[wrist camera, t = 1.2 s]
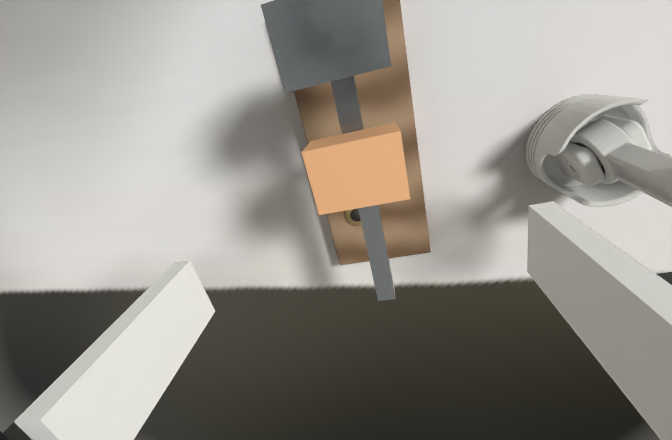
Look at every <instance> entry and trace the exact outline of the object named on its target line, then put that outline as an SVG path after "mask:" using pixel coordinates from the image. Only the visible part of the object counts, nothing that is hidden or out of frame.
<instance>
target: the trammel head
mask: <svg viewBox="0 0 672 440" xmlns="http://www.w3.org/2000/svg"><path fill="white" fill-rule="evenodd" d="M302 156H303V159H304V163H305V167H306V170H307V174H308V177H309V181H310V185H311V188H312V192H313V196H314V199H315V203H316V206H317V210H318V214H319V215H323V214H328V213H334V212H340V211H346V210H351V209H357V208H363V207H368V206H374V205H380V204H385V203H391V202H397V201H403V200H408V199H410V193H409V186H408V179H407V172H406V165H405V158H404V151H403V144H402V137H401V131H400V129H399V127H398V125H397V123H396V122H394V123H390V124H385V125H381V126H376V127H372V128H367V129H363V130H358V131H353V132H349V133H344V134H340V135H335V136H331V137H326V138H322V139H317V140H313V141H310V143H309V144H308V145H307V146H306V147H305V149H304V150H303V151H302Z"/></svg>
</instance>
